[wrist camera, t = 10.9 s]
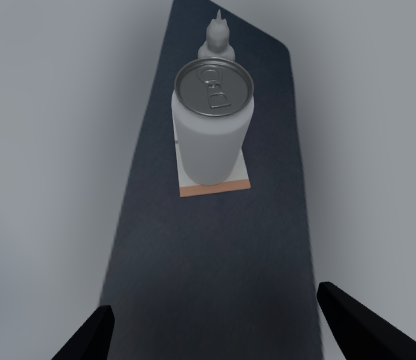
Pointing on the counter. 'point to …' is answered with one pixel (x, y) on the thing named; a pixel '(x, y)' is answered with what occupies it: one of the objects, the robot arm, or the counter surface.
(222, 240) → the counter surface
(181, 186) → the distance mat
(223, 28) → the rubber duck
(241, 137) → the can
